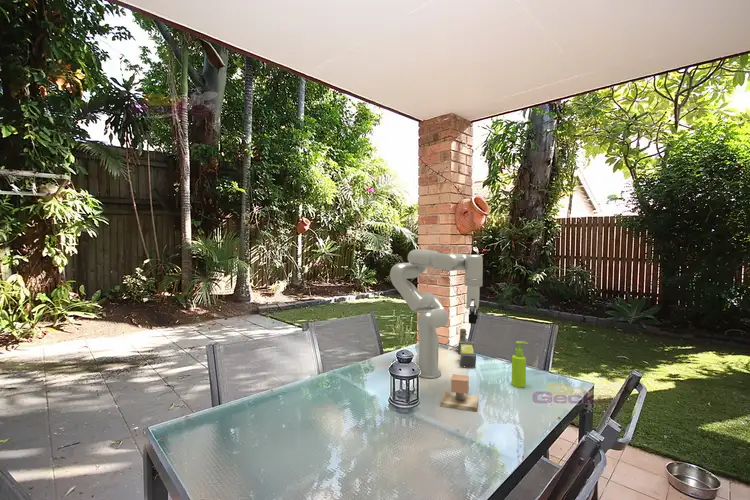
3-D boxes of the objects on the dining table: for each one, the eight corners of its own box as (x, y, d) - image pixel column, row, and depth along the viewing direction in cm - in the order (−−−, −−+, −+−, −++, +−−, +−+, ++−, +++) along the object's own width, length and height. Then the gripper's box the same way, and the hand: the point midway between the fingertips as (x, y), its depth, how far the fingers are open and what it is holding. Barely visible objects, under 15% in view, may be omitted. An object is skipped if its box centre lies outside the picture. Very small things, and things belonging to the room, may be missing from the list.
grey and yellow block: (474, 382, 189) (467, 347, 216) (476, 355, 183) (469, 323, 210) (459, 381, 190) (455, 346, 217) (461, 355, 184) (456, 322, 211)
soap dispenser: (530, 387, 159) (530, 343, 159) (514, 387, 159) (515, 343, 159) (524, 382, 165) (525, 340, 165) (509, 382, 165) (510, 339, 165)
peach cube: (451, 392, 141) (451, 379, 141) (452, 386, 148) (452, 374, 148) (467, 393, 140) (467, 381, 140) (468, 387, 146) (468, 375, 146)
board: (440, 406, 141) (440, 382, 141) (444, 395, 151) (444, 372, 151) (477, 411, 136) (477, 387, 136) (478, 399, 146) (478, 377, 146)
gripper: (466, 280, 166) (466, 316, 166) (463, 284, 150) (462, 324, 150) (483, 281, 164) (482, 318, 164) (481, 284, 147) (481, 326, 148)
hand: (473, 321), depth 157 cm, fingers open, 9 cm apart
